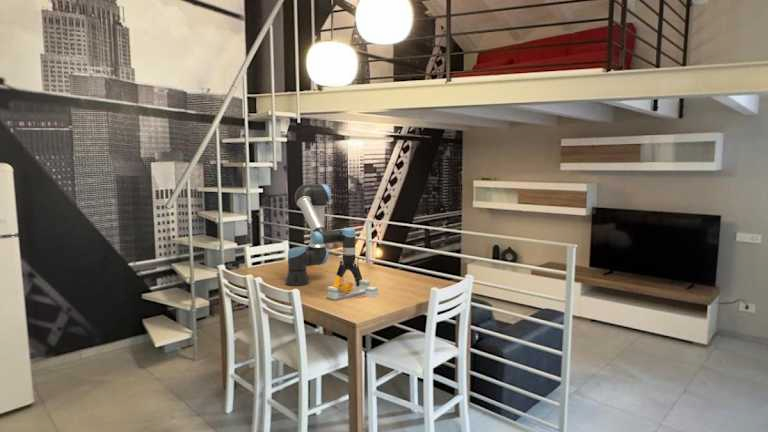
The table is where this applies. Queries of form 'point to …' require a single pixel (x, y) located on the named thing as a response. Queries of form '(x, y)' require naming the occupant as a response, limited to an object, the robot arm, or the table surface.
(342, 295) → the din board
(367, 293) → the module
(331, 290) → the module
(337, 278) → the orange irregular piece
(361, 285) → the module
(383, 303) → the table surface
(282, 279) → the table surface
